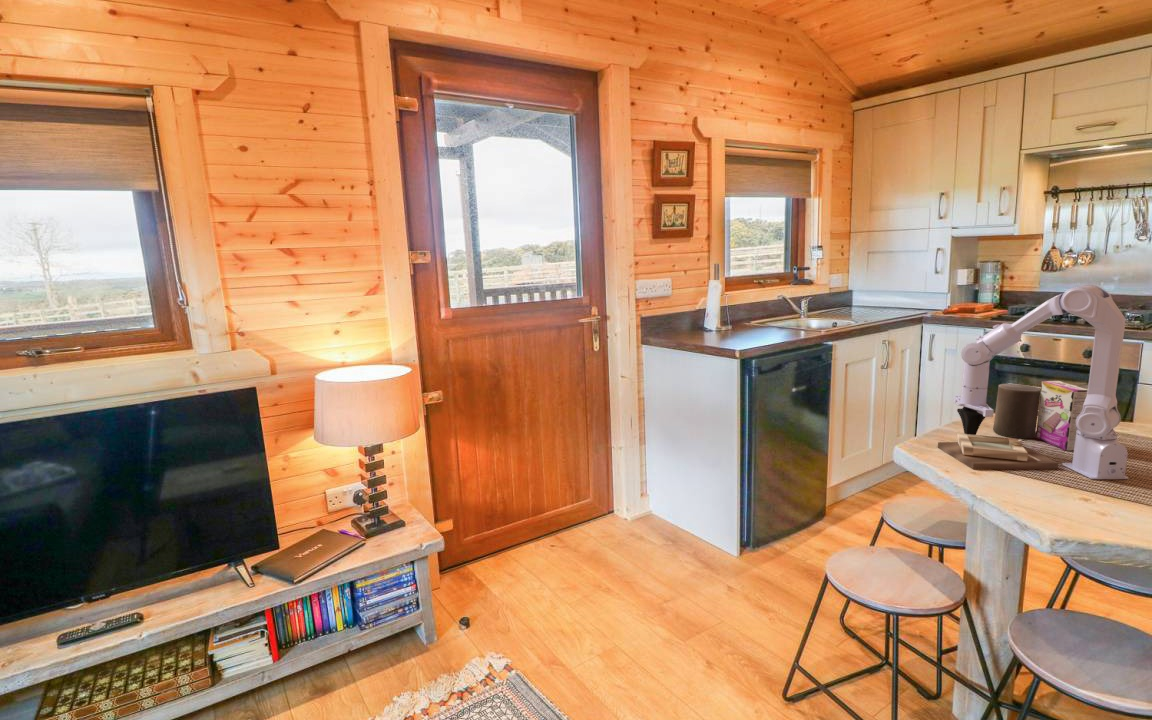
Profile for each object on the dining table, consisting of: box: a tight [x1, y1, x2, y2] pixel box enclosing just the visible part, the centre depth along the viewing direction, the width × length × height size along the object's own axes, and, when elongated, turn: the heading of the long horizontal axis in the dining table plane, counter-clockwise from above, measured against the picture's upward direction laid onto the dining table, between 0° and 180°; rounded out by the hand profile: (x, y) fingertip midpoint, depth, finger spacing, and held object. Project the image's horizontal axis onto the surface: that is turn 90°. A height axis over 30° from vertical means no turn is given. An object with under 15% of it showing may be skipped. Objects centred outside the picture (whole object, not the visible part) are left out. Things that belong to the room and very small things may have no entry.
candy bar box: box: [1035, 380, 1088, 452], centre depth 156 cm, size 11×5×16 cm, turn 178°
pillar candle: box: [992, 382, 1041, 440], centre depth 166 cm, size 10×10×15 cm
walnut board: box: [937, 441, 1059, 470], centre depth 149 cm, size 16×20×2 cm
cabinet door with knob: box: [956, 432, 1028, 461], centre depth 149 cm, size 12×13×2 cm
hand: (969, 435), depth 158 cm, fingers closed
